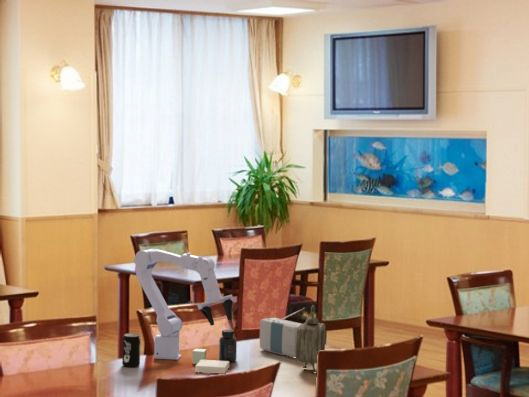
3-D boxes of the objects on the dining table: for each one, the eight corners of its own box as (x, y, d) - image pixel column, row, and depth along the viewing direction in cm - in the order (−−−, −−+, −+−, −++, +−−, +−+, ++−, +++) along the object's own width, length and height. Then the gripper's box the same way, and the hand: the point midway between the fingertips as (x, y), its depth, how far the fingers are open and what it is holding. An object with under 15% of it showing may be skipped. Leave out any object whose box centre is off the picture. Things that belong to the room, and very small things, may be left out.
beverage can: (118, 366, 402) (119, 334, 401) (128, 363, 408) (129, 332, 407) (133, 368, 399) (134, 337, 398) (143, 365, 405) (143, 334, 404)
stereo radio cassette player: (258, 350, 439) (259, 302, 437) (273, 348, 444) (274, 300, 443) (293, 359, 423) (295, 309, 422) (308, 357, 429) (309, 308, 427)
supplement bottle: (237, 359, 420) (238, 329, 419) (235, 363, 413) (235, 332, 413) (220, 358, 421) (220, 328, 420) (217, 362, 414) (218, 331, 413)
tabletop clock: (318, 375, 397) (320, 308, 396) (294, 373, 399) (296, 307, 398) (324, 367, 412) (326, 302, 410) (301, 365, 413) (303, 301, 412)
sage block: (192, 363, 410) (192, 351, 410) (194, 361, 415) (195, 348, 415) (204, 364, 410) (204, 351, 410) (206, 362, 414) (206, 349, 414)
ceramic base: (195, 373, 396) (195, 365, 396) (200, 367, 407) (200, 359, 407) (224, 375, 395) (224, 367, 394) (229, 368, 406) (229, 361, 405)
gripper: (198, 292, 405) (208, 326, 404) (232, 282, 412) (241, 316, 411) (191, 294, 411) (201, 328, 410) (224, 284, 418) (234, 318, 417)
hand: (221, 322), depth 411 cm, fingers open, 7 cm apart
